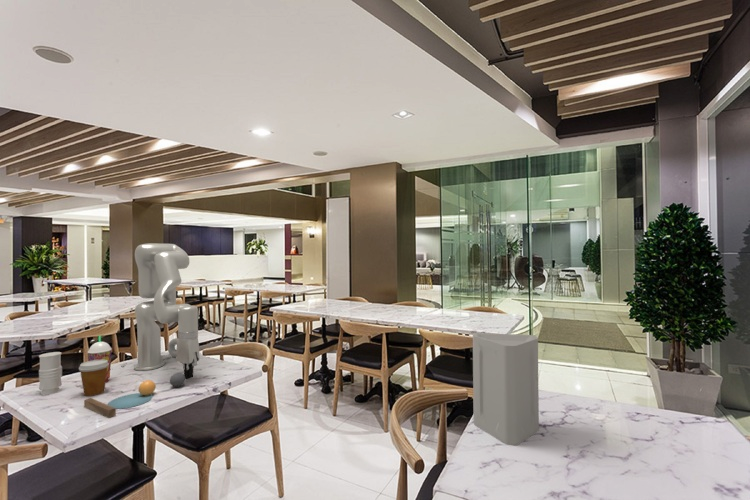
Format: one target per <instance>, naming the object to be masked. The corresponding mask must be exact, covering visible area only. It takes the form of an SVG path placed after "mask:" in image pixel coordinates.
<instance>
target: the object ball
mask: <svg viewBox="0 0 750 500" xmlns="http://www.w3.org/2000/svg"><path fill="white" fill-rule="evenodd" d="M156 386H157V385H156V383H155V382H154V381H153V380H149V379H147V380H144V381H143V382H141V383H140V384H139V385H138V393H140V394H141V395H144V396H147V395H150V394H151V395H153V393H154V392H155V390H156Z"/></svg>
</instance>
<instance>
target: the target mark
mask: <svg viewBox="0 0 750 500" xmlns="http://www.w3.org/2000/svg"><path fill="white" fill-rule="evenodd" d="M152 399H153V394H150V395H147V396H144V395H141V394H140V393H139V392H138V393H137V392H136V393H130V394H125V395H121V396H119V397H117V398H114V399H112V400H110V401H109V402H108V403H107V405H109V406H111V407H114V408H116V410H121V409H122V410H123V409H128V408H133V407H138V406H141V405H143V404H146V403H147V402H149V401H151V400H152Z"/></svg>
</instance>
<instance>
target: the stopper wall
mask: <svg viewBox="0 0 750 500" xmlns="http://www.w3.org/2000/svg"><path fill="white" fill-rule="evenodd" d="M107 404H108V403H107ZM107 404H106V403H104V402H102V401H100V400H97V399H94V398H93V397H92V398H91V397H90V398H86V399H84V402H83V406H84V408H86V409H88V410H90V411H92V412H95V413H97V414H99V415H101V416H103V417H106V418H108V419H110V418H114V417H116V416H117V409H116V408H114V407H111V406H109V405H107Z"/></svg>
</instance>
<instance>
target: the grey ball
mask: <svg viewBox="0 0 750 500" xmlns="http://www.w3.org/2000/svg"><path fill="white" fill-rule="evenodd" d="M185 381H186V379H185V376H184V373H183V372H175V373H173V374H172V375H171V376H170V378H169V384H170V385H171V386H172V387H174V388H178V387H181V386H183V385H184V383H185Z"/></svg>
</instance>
